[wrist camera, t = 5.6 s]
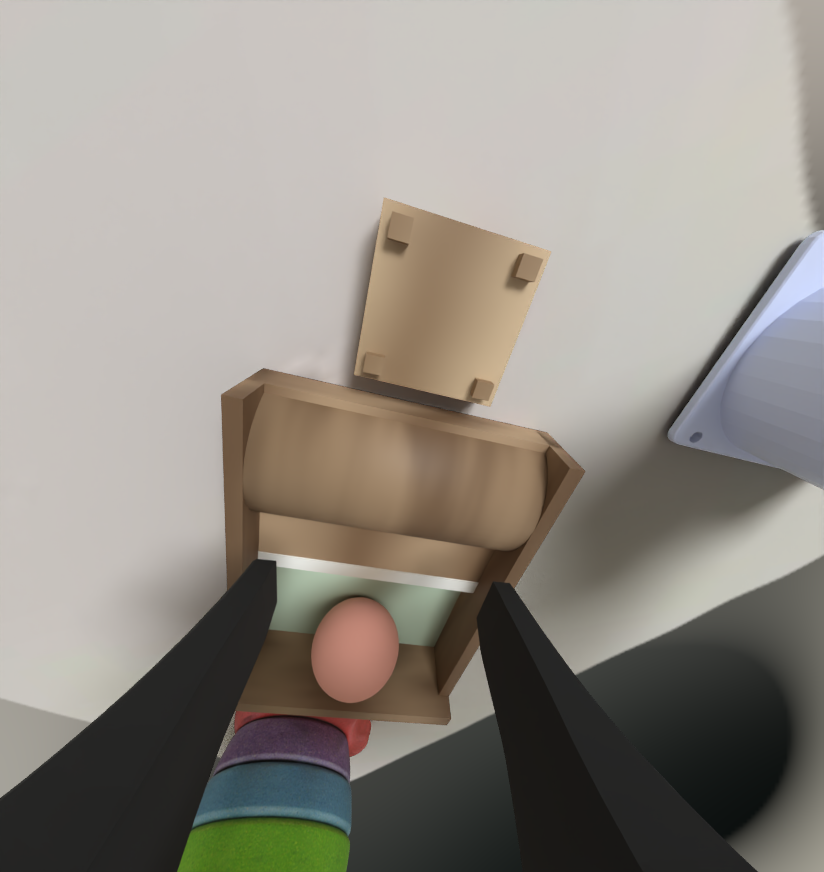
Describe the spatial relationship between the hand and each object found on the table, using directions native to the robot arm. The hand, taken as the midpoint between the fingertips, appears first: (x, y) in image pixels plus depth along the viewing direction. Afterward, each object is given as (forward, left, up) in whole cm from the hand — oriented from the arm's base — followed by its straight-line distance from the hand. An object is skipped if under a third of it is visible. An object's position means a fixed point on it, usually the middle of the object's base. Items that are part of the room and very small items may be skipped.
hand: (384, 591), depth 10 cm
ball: (0, +8, -2) cm, 8 cm away
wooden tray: (0, +3, -8) cm, 9 cm away
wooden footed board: (0, -8, -5) cm, 10 cm away
